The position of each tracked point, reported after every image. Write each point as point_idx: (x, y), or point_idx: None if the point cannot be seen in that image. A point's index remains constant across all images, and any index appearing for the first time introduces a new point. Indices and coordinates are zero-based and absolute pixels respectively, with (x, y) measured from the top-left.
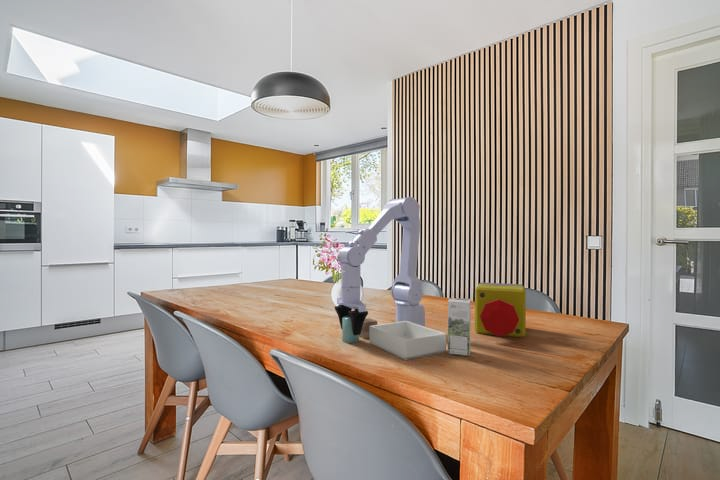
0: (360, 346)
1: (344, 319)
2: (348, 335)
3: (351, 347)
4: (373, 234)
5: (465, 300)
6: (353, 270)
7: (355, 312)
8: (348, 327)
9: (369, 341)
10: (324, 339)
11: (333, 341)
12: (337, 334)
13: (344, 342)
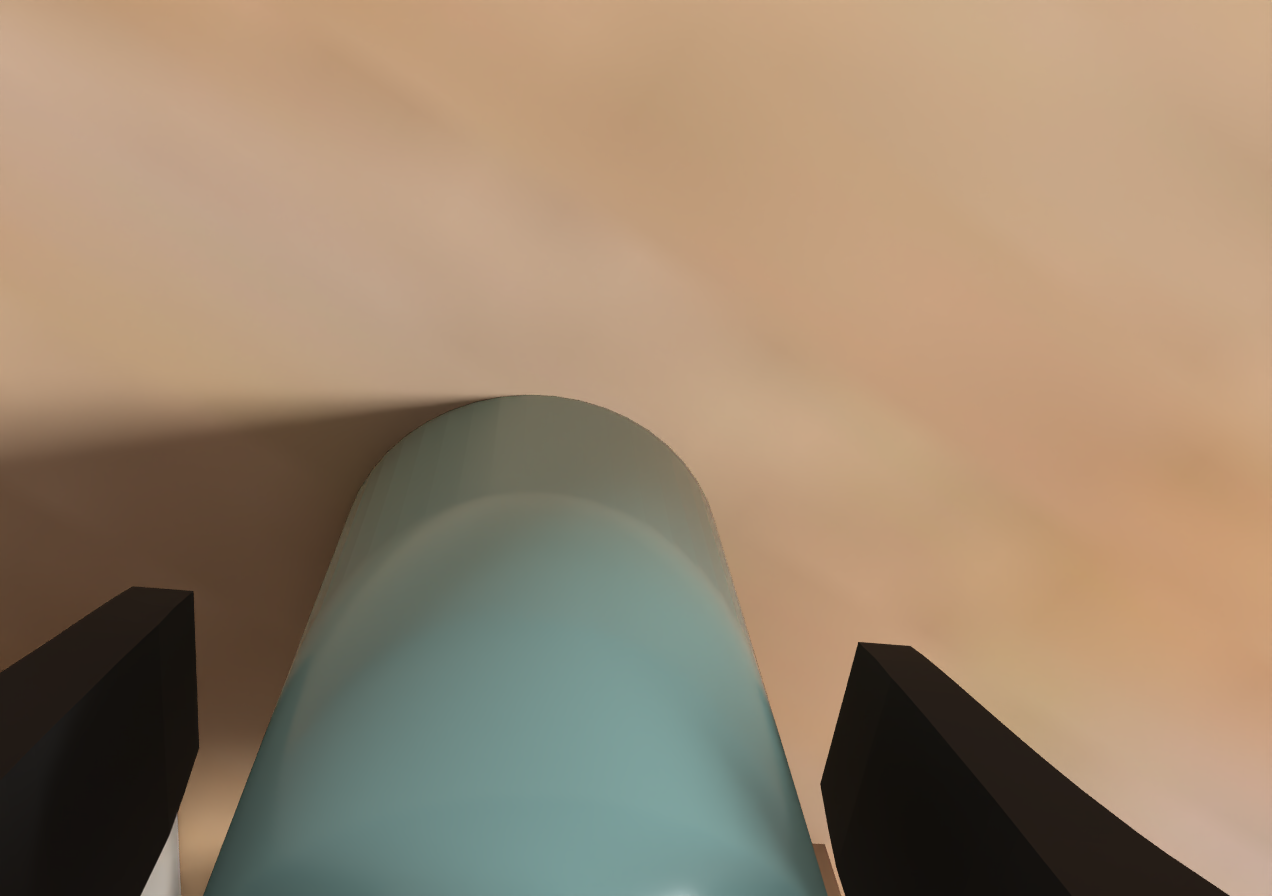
0: (30, 509)
1: (462, 780)
2: (371, 523)
3: (48, 306)
4: None
5: None
6: None
7: None
8: (330, 655)
9: None
10: (1041, 144)
11: (743, 233)
12: (1129, 605)
13: (508, 398)
